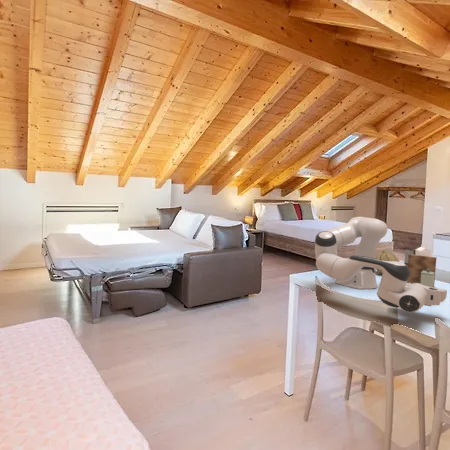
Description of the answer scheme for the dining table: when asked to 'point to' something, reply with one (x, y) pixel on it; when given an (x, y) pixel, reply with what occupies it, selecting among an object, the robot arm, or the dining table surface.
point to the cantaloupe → (386, 258)
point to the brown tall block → (420, 267)
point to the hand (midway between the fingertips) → (422, 286)
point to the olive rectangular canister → (427, 278)
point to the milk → (423, 251)
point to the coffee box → (407, 252)
